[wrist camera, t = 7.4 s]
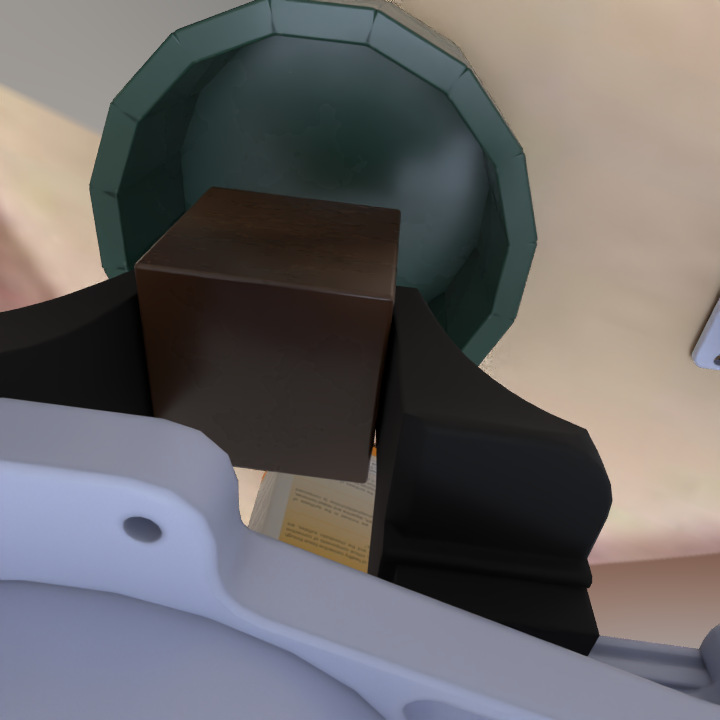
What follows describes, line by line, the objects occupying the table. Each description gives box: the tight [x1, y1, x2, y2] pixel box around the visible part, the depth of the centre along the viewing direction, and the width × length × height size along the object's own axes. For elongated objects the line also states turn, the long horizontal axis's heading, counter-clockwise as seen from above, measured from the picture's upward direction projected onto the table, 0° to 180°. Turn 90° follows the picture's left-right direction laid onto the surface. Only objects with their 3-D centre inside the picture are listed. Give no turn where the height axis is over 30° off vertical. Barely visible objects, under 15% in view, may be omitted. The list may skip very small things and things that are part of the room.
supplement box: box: [248, 447, 376, 573], centre depth 24 cm, size 8×5×13 cm, turn 65°
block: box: [134, 186, 401, 484], centre depth 13 cm, size 4×4×4 cm
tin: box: [89, 0, 537, 366], centre depth 19 cm, size 13×13×6 cm
